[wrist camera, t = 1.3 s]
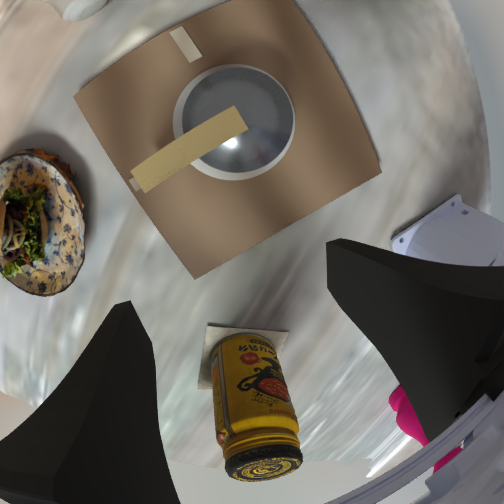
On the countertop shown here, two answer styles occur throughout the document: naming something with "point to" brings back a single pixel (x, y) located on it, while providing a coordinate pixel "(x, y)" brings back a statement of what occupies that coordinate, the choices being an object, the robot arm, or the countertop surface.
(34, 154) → the plate of food
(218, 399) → the condiment
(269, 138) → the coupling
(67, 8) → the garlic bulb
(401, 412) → the pepper mill
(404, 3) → the countertop surface
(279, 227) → the post base
